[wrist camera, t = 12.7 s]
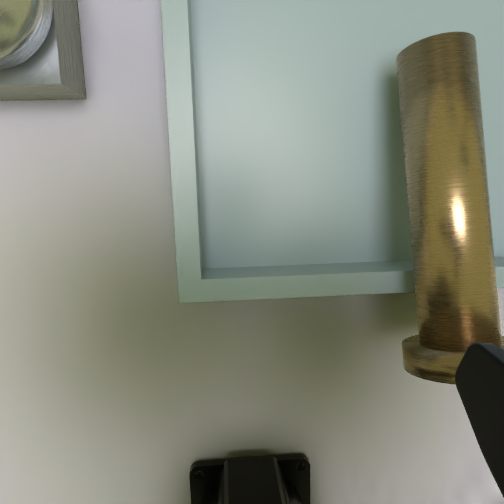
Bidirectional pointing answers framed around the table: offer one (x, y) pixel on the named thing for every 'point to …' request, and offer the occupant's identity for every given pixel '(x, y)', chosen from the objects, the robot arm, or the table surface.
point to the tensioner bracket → (40, 50)
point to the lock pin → (447, 204)
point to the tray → (306, 141)
